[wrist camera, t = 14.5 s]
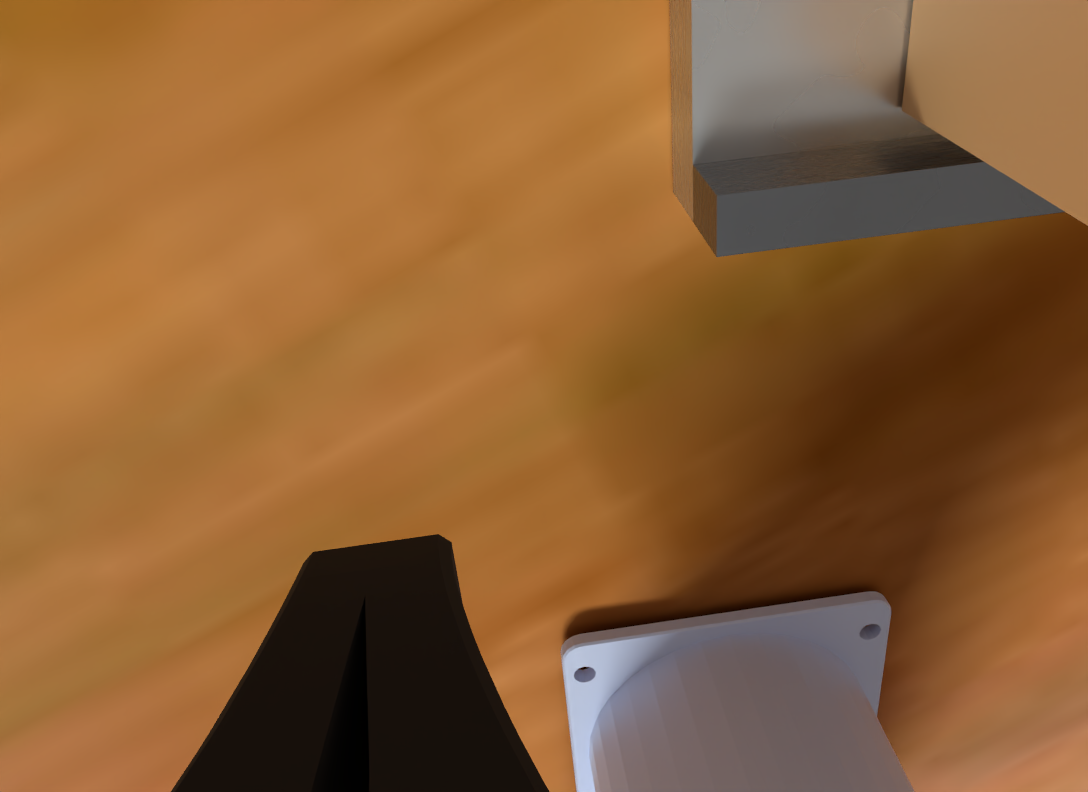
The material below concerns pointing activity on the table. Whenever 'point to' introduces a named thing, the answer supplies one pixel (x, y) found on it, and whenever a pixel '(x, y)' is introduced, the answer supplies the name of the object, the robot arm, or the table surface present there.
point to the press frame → (813, 129)
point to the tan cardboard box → (1007, 88)
